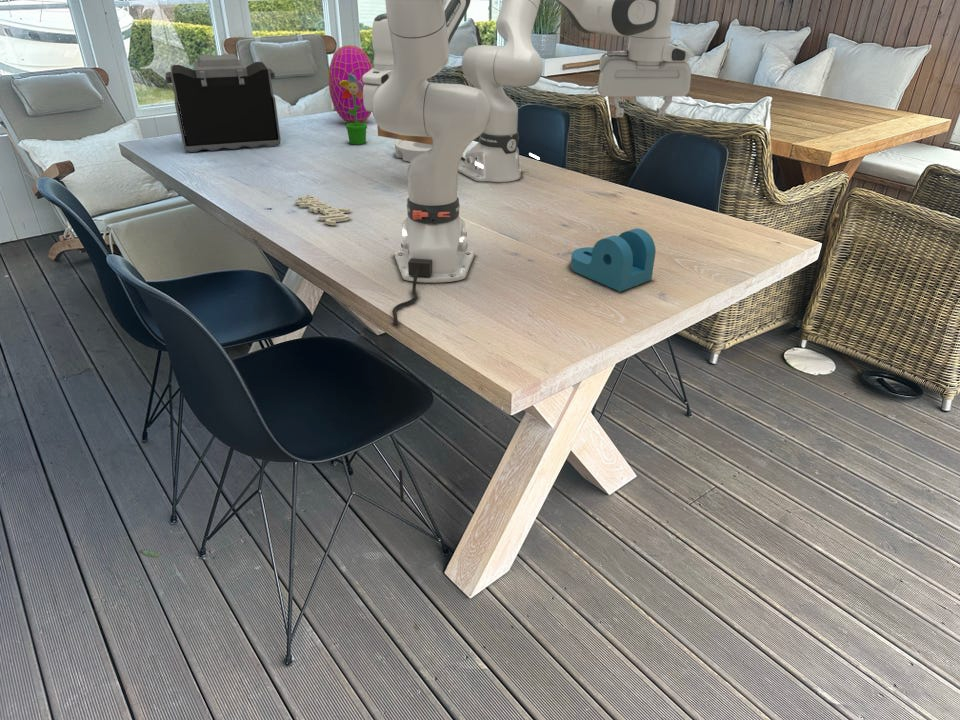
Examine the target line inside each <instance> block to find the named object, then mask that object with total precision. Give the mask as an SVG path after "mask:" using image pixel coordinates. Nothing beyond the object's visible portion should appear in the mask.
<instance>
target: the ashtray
mask: <svg viewBox="0 0 960 720" xmlns="http://www.w3.org/2000/svg"><path fill="white" fill-rule="evenodd" d="M430 149H432V145H430V144H424V143H418V142H412V141H406V140H400V139H397V141H395V143H394V152H395V153H394V154H395V158H397V159H402V160H403V161H404V162H409V163H410V162H411V161H412V159H413V158H415V157H416V156H418V155H419V154H421V153H423V152H425V151H428V150H430Z"/></svg>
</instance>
